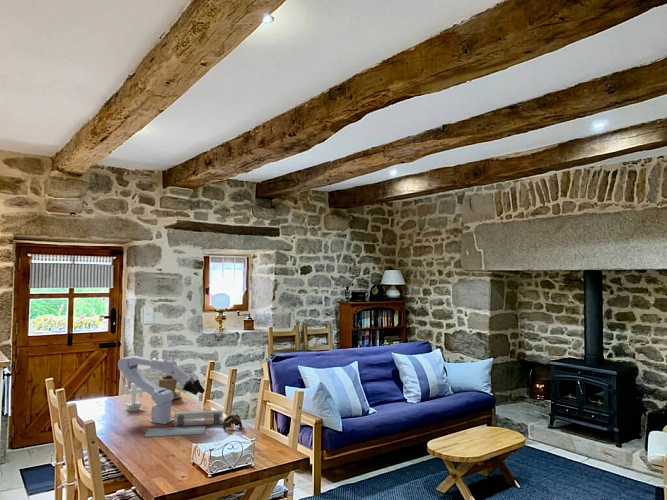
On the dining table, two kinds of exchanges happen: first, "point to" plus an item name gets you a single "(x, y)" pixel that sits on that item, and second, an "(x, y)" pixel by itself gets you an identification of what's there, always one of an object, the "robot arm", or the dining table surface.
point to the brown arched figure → (232, 421)
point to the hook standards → (198, 422)
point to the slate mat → (175, 431)
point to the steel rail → (198, 414)
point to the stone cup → (169, 384)
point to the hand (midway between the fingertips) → (200, 392)
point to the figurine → (133, 397)
